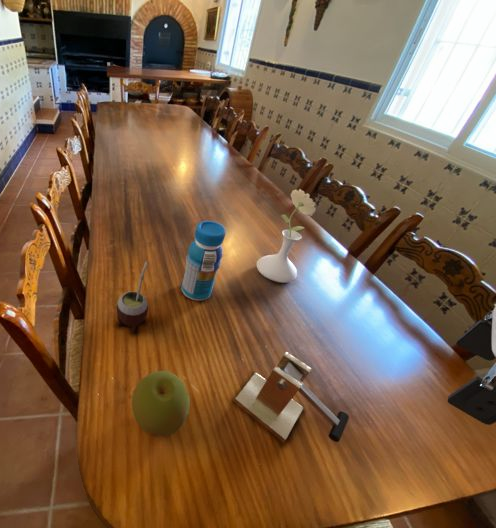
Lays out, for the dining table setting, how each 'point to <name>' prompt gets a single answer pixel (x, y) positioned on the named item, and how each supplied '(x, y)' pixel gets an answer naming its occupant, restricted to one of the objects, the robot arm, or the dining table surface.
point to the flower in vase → (286, 244)
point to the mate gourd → (132, 307)
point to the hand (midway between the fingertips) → (469, 378)
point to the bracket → (274, 398)
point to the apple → (160, 403)
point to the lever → (319, 405)
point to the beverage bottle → (203, 260)
